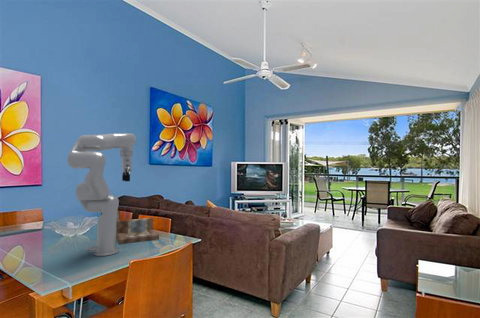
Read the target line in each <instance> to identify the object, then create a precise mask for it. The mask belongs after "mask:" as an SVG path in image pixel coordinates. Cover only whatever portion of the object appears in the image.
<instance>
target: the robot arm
mask: <svg viewBox="0 0 480 318" xmlns="http://www.w3.org/2000/svg"><path fill="white" fill-rule="evenodd" d="M136 142H137V137H136V135H135V134H134V133H129V132H128V133H125V132H124V133H122V132H121V133H106V134H103V133H101V134H82V135H80V136H79V137H78V139H76V141H75V143H74V144H73V145H72V148H71V150H70V151H69V153H68V156H67V164H68V166H69V167H70V168H72V169H86V170H87V169H88V172H87V174H86V175H85V176H84V181H83V182H80V183H79V184H77V185H76V187H75V197H76V199H77V200H78V202H79V203H80V205H81V206H82V208H83V209H84V210H85V211H86V212H88V213H101V215H100V216H99V217H98V219H97V224H96V225H97V227H96V228H97V229H96V244H95V245H94V246H87V247H86V249H87V250H86V251H87V252H93V255H94V256H95V257H97V256H98V257H105V256H112V255H115V254H117V253H118V252H120V249H119V248H118V247H117V239H116V222H117V211H119V210H118V209H119V203H120V200H119V198H118V197H117V196H116V195H112V194H111V193H110V192H111V191H110V187H109V185H108V184H107V182H106V180H105V179H104V170H105V166H106V156H105V154H104V153H103V152H101V151H106V150H111V149H119V156H120V157H121V171H122V175H121V176H122V179H121V181H122V182H131V173H132V171H133V166H132V163H133V162H132V160H133V159H132V157H133V156H134V153H133V151H134V150H133V149H134V145H135V144H136Z"/></svg>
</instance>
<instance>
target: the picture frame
mask: <svg viewBox="0 0 480 318" xmlns="http://www.w3.org/2000/svg"><path fill="white" fill-rule="evenodd" d="M145 234H148V218H147V217H145V218H144V217H143V218H137V219H133V218H132V219H128V236H137V235H145Z"/></svg>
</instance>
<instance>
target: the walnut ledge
mask: <svg viewBox="0 0 480 318" xmlns="http://www.w3.org/2000/svg"><path fill="white" fill-rule="evenodd" d="M147 219H148V234H145V235H137V236H128V220H129V219H128V220H127V219H126V220H119V221H117V222H116V242H117V243H118V245H124V244H125V245H126V244H132V243H140V242H149V241H153V240H154V241H156V239H157V240H160V235H159V233H157V232H156V231H155V230H154V229H153V228H154V227H153V225H154V220H153V219H154V217H150V218H147Z"/></svg>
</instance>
